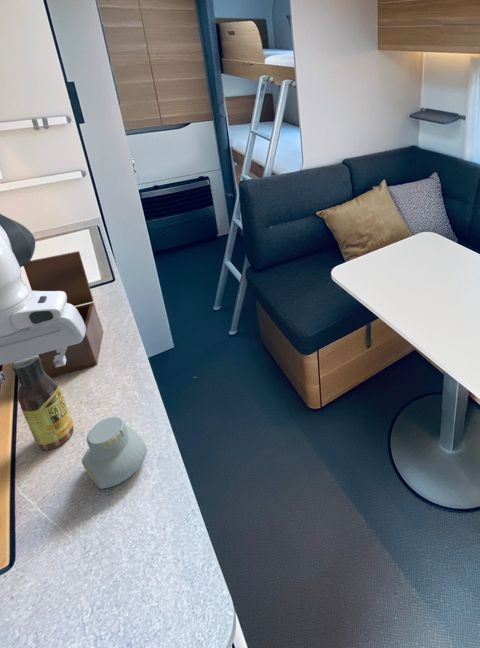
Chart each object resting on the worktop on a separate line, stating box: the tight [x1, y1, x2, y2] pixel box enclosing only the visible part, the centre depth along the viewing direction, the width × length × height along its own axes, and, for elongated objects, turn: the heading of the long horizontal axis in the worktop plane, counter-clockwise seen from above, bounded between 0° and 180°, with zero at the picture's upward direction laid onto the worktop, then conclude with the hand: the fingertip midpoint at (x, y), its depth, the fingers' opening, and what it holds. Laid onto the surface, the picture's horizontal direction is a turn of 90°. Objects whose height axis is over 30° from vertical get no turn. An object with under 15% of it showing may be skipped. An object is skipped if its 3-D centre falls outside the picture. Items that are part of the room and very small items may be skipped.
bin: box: [39, 302, 104, 379], centre depth 103 cm, size 14×12×10 cm
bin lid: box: [23, 250, 94, 307], centre depth 107 cm, size 14×12×5 cm
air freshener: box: [81, 416, 148, 489], centre depth 76 cm, size 11×8×10 cm
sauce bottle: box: [11, 355, 74, 451], centre depth 80 cm, size 7×6×20 cm
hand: (31, 373), depth 78 cm, fingers open, 8 cm apart
